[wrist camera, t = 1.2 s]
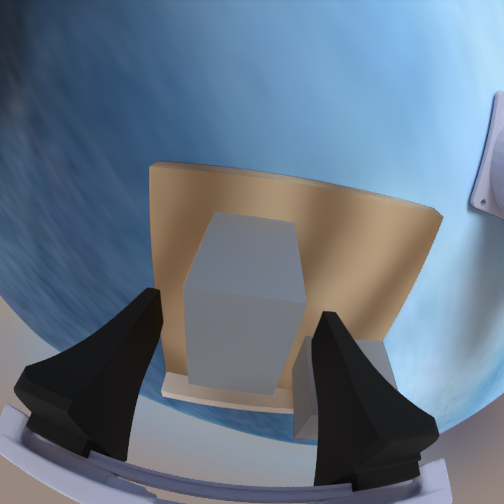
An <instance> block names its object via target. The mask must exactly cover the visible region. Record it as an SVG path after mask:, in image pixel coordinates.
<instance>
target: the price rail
mask: <svg viewBox="0 0 504 504" xmlns="http://www.w3.org/2000/svg"><path fill="white" fill-rule="evenodd" d="M161 392H162V396H164V397H168V398H173V399H178V400H183V401H188V402H193V403H198V404H204V405H210V406H217V407H224V408H231V409H239V410H248V411H258V412H270V413H285V414H293V389H284V388H276V390H275V392H274V395H268V394H257V393H248V392H239V391H232V390H224V389H218V388H211V387H205V386H199V385H194V384H189V381H188V376H185V375H180V374H175V373H170V372H166V376H165V379H164V382H163V386H162V389H161Z"/></svg>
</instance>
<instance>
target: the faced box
mask: <svg viewBox="0 0 504 504" xmlns="http://www.w3.org/2000/svg"><path fill="white" fill-rule="evenodd" d="M312 338H313V337H312V336H305V338H304V341H303V343H302V346H301V348H300V351H299V353H298V356H297V358H296V361H295V363H294V366H293V368H292V384H293V418H294V439H318V404H317V396H316V389H315V381H314V375H313V367H312V357H311V340H312ZM354 340H355V342H356V343H357V345H358V346H359V347H360V349H361V350H362V352H363V353H364V354H365V356H366V357H367V358H368V359H369V361H370V362H371V363H372V365H373V366H374V367H375V368H376V369H377V370H378V372H379V373H380V374H381V375H382V376H383V377H384V378H385V379H386V380H387V381H388V382H389V383H390V384H391V385H392V386H393V387H394V388H395V389H396V390H397V391H398V389H397V385H396V382H395V378H394V375H393V372H392V368H391V365H390V362H389V359H388V356H387V352H386V349H385V346H384V343H383V341H379V340H356V339H354Z"/></svg>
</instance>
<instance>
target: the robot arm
mask: <svg viewBox="0 0 504 504" xmlns="http://www.w3.org/2000/svg"><path fill="white" fill-rule="evenodd" d="M481 201H482V203H481ZM470 202H471V205H473V206H474V207H475V208H477V209H480V210H483V211H485V212H488V213H490V214H493V215H495V216H498V217H500V218H503V219H504V92H503V91H497V92H496V94H495V101H494V107H493V113H492V119H491V124H490V129H489V134H488V139H487V143H486V147H485V151H484V155H483V159H482V163H481V166H480V170H479V173H478V177H477V180H476V183H475V186H474V189H473V192H472V195H471V199H470ZM163 323H164V320H163V312H162V303H161V294H160V290H159V289H153V288H148V287H147V288H146V289H145V290H144V291H143V292H142V293H141V294H139V295H138V296H137V297H136V298H135V299H134V300H133V301H132V302H131V303H130V304H129V305H128V306H127V307H125V308H124V309H123V310H122V311H121V312H120V313H119V314H117V315H116V316H115V317H114V318H113V319H112V320H110V321H109V322H108V323H107V324H105V325H104V326H103V327H102V328H100V329H99V330H98V331H96V332H95V333H94V334H92V335H91V336H89V337H88V338H86V339H85V340H83V341H81V342H80V343H78V344H76V345H74V346H73V347H71V348H69V349H67V350H65V351H63V352H61V353H59V354H57V355H55V356H53V357H51V358H48V359H46V360H43V361H41V362H37V363H35V364H32V365H29V366H26V367H25V369H24V371H23V373H22V374H21V376H20V378H19V380H18V381H17V383H16V385H15V387H14V392H15V394H16V395H17V397H18V398H19V399H20V400H21V401H22V403H23V404H24V405H25V406H26V407H27V408H28V409H29V410H30V411H31V412H32V413H31V416H30V417H28V416H27V415H26V414H24V413H23V412H21V411H20V410H18V409H16V408H15V407H13V406H11V405H10V404H6V406H5V408H4V410H3V412H2V414H1V416H0V454H1V455H2V456H4V457H5V458H7V459H8V460H9V461H11V462H12V463H13V464H15V465H16V466H18V467H19V468H21V469H22V470H24V471H25V472H27V473H28V474H29V475H31V476H33V477H34V478H36V479H37V480H39V481H41V482H42V483H44V484H46V485H47V486H49V487H51V488H52V489H55V490H56V491H58V492H60V493H62V494H64V495H65V496H67V497H69V498H71V499H73V500H75V501H77V502H80V503H81V504H184V503H178V502H173V501H168V500H163V499H159V498H157V496H156V495H155V494H153V493H151V492H148V491H147V490H146V488H145V487H142V486H139V485H136V484H134V483H131V482H128V481H126V480H129V481H133V482H136V483H139V484H143V485H146V486H150V487H154V488H158V489H162V490H166V491H170V492H175V493H180V494H186V495H190V496H196V497H202V498H209V499H217V500H226V501H235V502H249V503H307V504H451V503H452V502H453V500H452V494H451V488H450V484H449V478H448V473H447V469H446V464H445V460H444V459H443V458H442V459H439V460H436V461H433V462H429V463H426V464H423V465H421V466H419V465H418V461H420V460H421V455H420V452H422V451H423V450H425V449H426V448H427V447H429V446H430V445H432V444H433V443H434V442H436V440H437V439H438V437H439V432H438V428H437V425H436V421H435V419H434V417H432V416H431V415H429V414H428V413H426V412H424V411H423V410H421V409H420V408H418V407H417V406H416V405H414V404H413V403H412V402H410V401H409V400H408V399H407V398H405V397H404V396H403V395H402V394H401V393H399V392H398V391H397V390H396V389H395V388H394V387H393V386H392V385H391V384H390V383H389V382H388V381H387V380H386V379H385V378H384V377H383V376H382V375H381V374H380V373H379V372H378V370H377V369H376V368H375V367H374V366H373V365H372V363H371V362H370V361H369V359H368V358H367V357H366V356H365V354H364V353H363V352H362V350H361V349H360V347H359V346H358V345H357V343H356V342H355V340H354V339H353V337H352V336H351V334H350V333H349V331H348V330H347V328H346V327H345V325H344V323H343V322H342V320H341V319H340V317H339V316H338V314H337V313H336V312H332V311H323V312H322V315H321V317H320V320H319V323H318V325H317V328H316V330H315V333H314V335H313V338H312V340H311V357H312V367H313V375H314V381H315V389H316V396H317V404H318V447H317V462H316V471H315V479H314V486H310V487H259V486H257V487H256V486H242V485H232V484H223V483H215V482H207V481H201V480H195V479H189V478H184V477H179V476H174V475H170V474H165V473H161V472H157V471H153V470H149V469H145V468H141V467H138V466H135V465H132V464H129V463H125V461H126V460H127V453H128V446H129V438H130V432H131V426H132V421H133V416H134V411H135V406H136V403H137V399H138V395H139V391H140V387H141V384H142V381H143V378H144V376H145V373H146V371H147V368H148V366H149V363H150V361H151V359H152V356H153V354H154V351H155V349H156V346H157V344H158V341H159V338H160V334H161V331H162V327H163ZM118 477H120V478H123V479H126V480H123V479H120V478H118ZM309 502H314V503H309Z"/></svg>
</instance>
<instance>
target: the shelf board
mask: <svg viewBox="0 0 504 504" xmlns="http://www.w3.org/2000/svg"><path fill="white" fill-rule="evenodd" d="M149 202H150V229H151V247H152V261H153V273H154V284H155V289H159V290H160V294H161V303H162V312H163V320H164V323H163V327H162V331H161V340H162V347H163V353H164V359H165V365H166V370H167V372H170V373H175V374H180V375H185V376H188V370H187V360H186V345H185V327H184V304H183V284H184V282H185V279H186V277H187V274H188V272H189V269H190V267H191V264H192V262H193V260H194V257H195V255H196V252H197V250H198V248H199V245H200V243H201V241H202V238H203V236H204V234H205V231H206V229H207V227H208V225H209V222H210V221H211V219H212V216H213V214H214V212H215V211H217V212H225V213H232V214H240V215H247V216H254V217H261V218H268V219H275V220H282V221H288V222H294V223H295V229H296V235H297V241H298V247H299V253H300V259H301V266H302V272H303V279H304V286H305V293H306V300H307V304H306V307H305V310H304V313H303V316H302V319H301V322H300V325H299V328H298V331H297V334H296V336H295V339H294V342H293V345H292V348H291V350H290V353H289V356H288V358H287V361H286V364H285V366H284V369H283V372H282V374H281V377H280V380H279V382H278V385H277V387H276V388H284V389H293V384H292V368H293V366H294V363H295V361H296V358H297V356H298V353H299V351H300V348H301V346H302V343H303V341H304V338H305V336H312V337H313V335H314V333H315V330H316V328H317V325H318V323H319V320H320V317H321V315H322V312H323V311H332V312H336V313H337V314H338V316H339V317H340V319H341V320H342V322H343V323H344V325H345V327H346V328H347V330H348V331H349V333H350V334H351V336H352V337H353V339H356V340H379V341H383V339H384V337H385V336H386V334H387V333H388V331H389V329H390V327H391V326H392V324H393V322H394V321H395V319H396V317H397V315H398V314H399V312H400V310H401V308H402V306H403V304H404V303H405V301H406V299H407V297H408V295H409V293H410V291H411V289H412V287H413V285H414V283H415V281H416V279H417V277H418V275H419V273H420V271H421V269H422V267H423V265H424V262H425V260H426V258H427V256H428V254H429V251H430V249H431V247H432V244H433V242H434V240H435V237H436V235H437V232H438V230H439V227H440V225H441V222H442V219H443V216H442V215H441V214H440V213H439V212H438V211H436V210H435V209H434V208H431V207H427V206H424V205H420V204H417V203H413V202H409V201H405V200H401V199H398V198H394V197H390V196H385V195H381V194H377V193H373V192H368V191H364V190H359V189H355V188H350V187H345V186H341V185H336V184H331V183H326V182H320V181H315V180H309V179H304V178H298V177H292V176H286V175H280V174H273V173H267V172H260V171H253V170H245V169H237V168H229V167H221V166H212V165H202V164H191V163H180V162H167V161H157V162H155V163H154V164H152V165H151V166H150V167H149Z"/></svg>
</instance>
